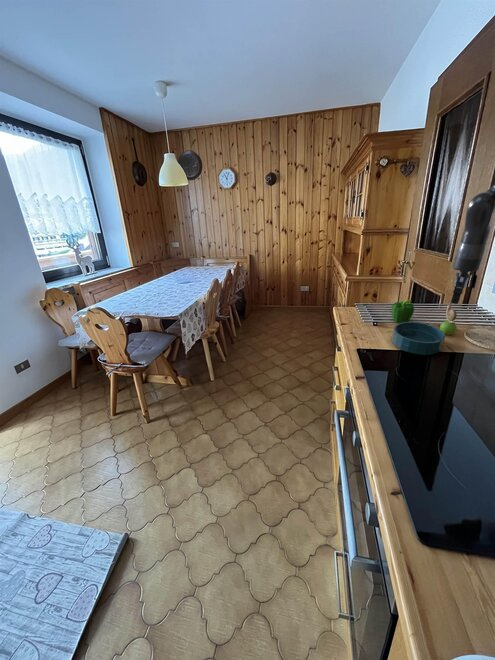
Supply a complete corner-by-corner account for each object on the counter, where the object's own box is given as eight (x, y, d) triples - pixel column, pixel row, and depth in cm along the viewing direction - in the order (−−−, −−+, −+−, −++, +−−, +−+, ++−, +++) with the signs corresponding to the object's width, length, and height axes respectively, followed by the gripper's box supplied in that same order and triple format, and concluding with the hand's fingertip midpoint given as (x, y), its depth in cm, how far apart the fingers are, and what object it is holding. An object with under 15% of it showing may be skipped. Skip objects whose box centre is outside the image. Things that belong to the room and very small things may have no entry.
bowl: (443, 340, 107) (447, 328, 104) (437, 361, 96) (441, 347, 93) (397, 330, 116) (399, 318, 113) (386, 348, 105) (389, 335, 102)
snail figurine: (448, 329, 114) (456, 301, 109) (457, 337, 109) (466, 308, 103) (434, 329, 115) (441, 302, 109) (442, 337, 109) (450, 308, 104)
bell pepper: (385, 321, 124) (389, 299, 119) (395, 315, 128) (399, 294, 124) (405, 327, 118) (410, 305, 113) (414, 321, 122) (419, 299, 118)
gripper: (482, 261, 90) (466, 308, 98) (483, 252, 100) (468, 295, 108) (453, 259, 95) (441, 303, 102) (457, 250, 104) (445, 291, 112)
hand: (455, 299), depth 105 cm, fingers open, 8 cm apart
